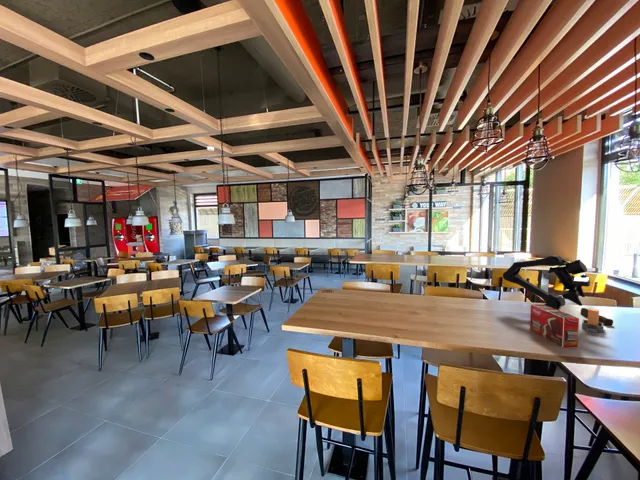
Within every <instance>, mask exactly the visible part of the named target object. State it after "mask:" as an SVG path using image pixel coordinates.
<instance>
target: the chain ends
mask: <svg viewBox="0 0 640 480" xmlns="http://www.w3.org/2000/svg"><path fill="white" fill-rule="evenodd" d="M581 321H582V322H581V329H583V330H586V334H587V335H591V336H592V335H593V336H596V337H598V333H602V334H604V324H603V323H601V322H599V321H598V326H597V325H592V324H587V322H588V319H585V318H584V319H583V318H582V320H581Z"/></svg>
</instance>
